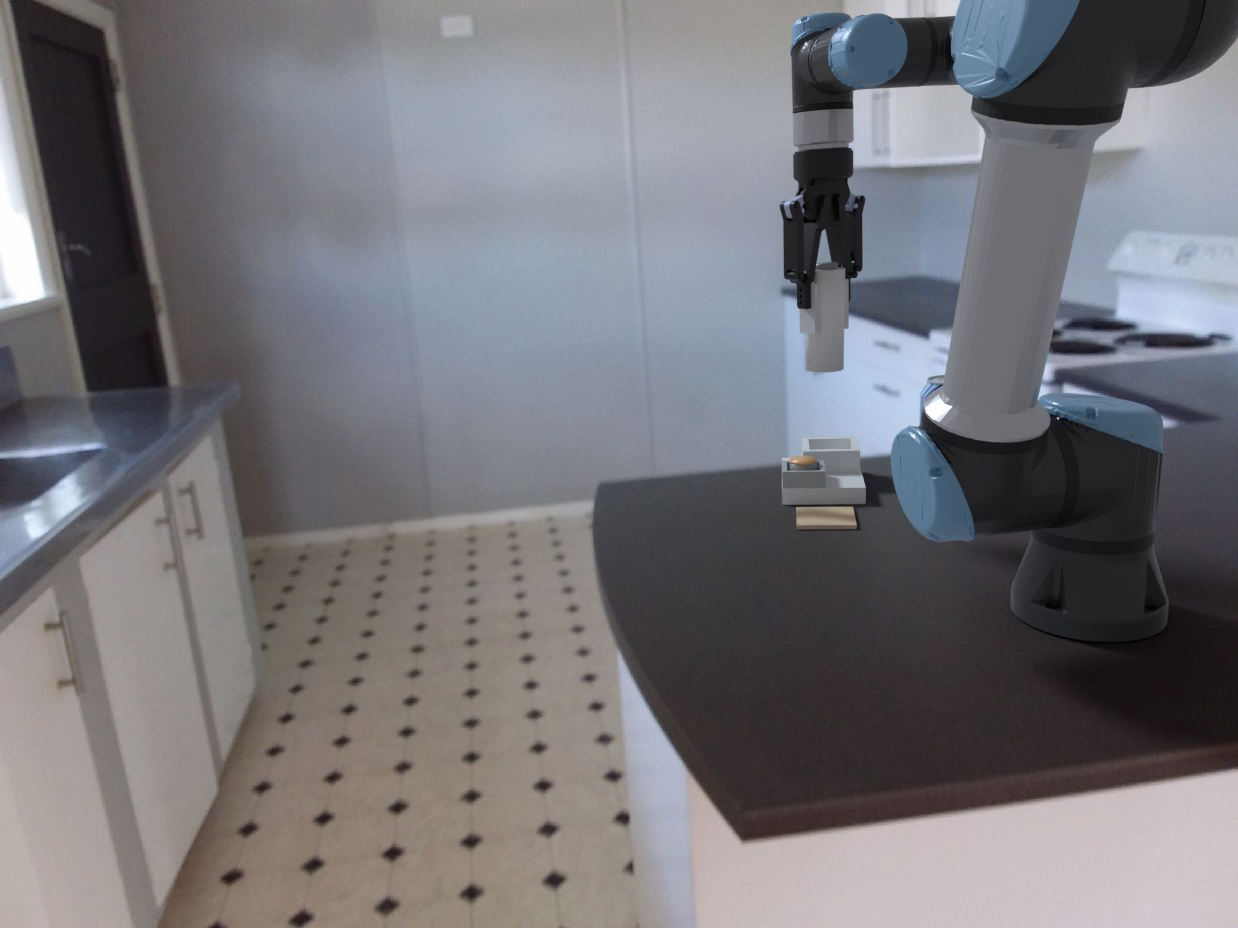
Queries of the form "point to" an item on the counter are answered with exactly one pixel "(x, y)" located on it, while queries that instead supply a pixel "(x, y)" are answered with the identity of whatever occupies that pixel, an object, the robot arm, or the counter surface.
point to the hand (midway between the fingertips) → (824, 330)
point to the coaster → (825, 518)
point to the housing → (826, 474)
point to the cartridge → (828, 321)
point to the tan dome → (803, 463)
